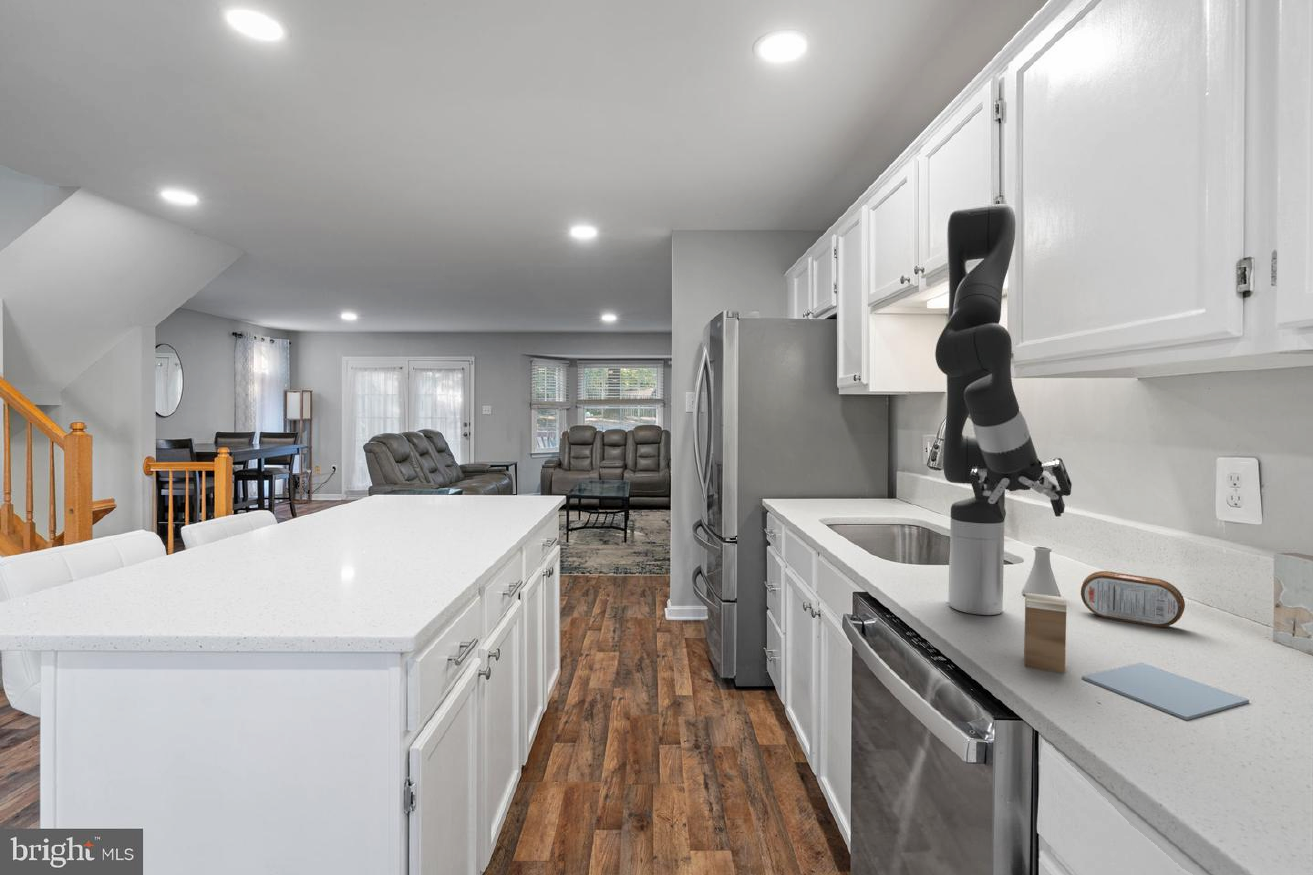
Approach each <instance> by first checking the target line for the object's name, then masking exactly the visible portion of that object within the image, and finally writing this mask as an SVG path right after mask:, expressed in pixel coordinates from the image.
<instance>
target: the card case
mask: <svg viewBox="0 0 1313 875" xmlns="http://www.w3.org/2000/svg"><path fill="white" fill-rule="evenodd" d="M1024 597H1025V598H1024V635H1023V637H1024V639H1023V641H1024V644H1023V645H1024V648H1023V661H1024V667H1025V668H1030V669H1037V670H1043V671H1049V672H1054V673H1061V674H1066V645H1067V644H1066V640H1067V637H1066V636H1067V602H1066V600H1065V596H1064V597H1063V596H1061V597H1057V596H1049V595H1040V594H1032V593H1025V595H1024Z"/></svg>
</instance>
